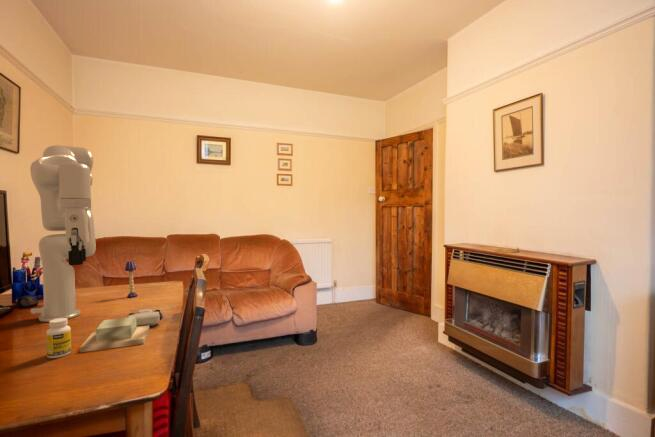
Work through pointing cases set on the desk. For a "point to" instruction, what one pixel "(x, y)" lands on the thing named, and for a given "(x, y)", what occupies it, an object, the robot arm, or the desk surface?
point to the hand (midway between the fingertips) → (77, 263)
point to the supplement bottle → (58, 338)
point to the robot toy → (147, 317)
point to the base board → (115, 343)
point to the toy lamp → (131, 277)
